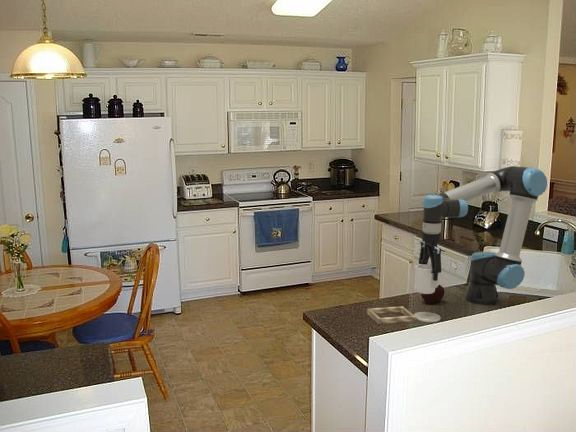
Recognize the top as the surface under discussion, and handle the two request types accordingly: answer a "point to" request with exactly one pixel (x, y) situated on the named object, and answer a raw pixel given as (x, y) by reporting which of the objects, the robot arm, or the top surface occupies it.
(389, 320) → the wooden picture frame
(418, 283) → the mug
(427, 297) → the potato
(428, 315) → the plate
